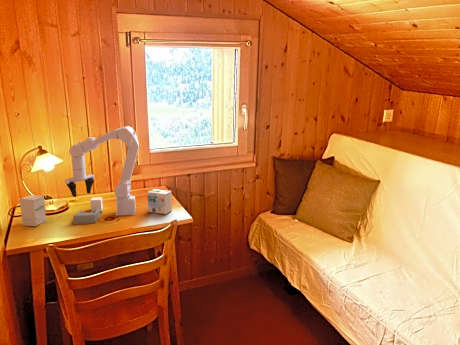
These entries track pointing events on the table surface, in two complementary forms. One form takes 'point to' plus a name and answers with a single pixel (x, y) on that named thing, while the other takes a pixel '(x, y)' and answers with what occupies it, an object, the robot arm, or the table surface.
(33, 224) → the supplement box
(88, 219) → the tray
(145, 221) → the table surface
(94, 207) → the block
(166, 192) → the light bulb box
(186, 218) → the table surface
